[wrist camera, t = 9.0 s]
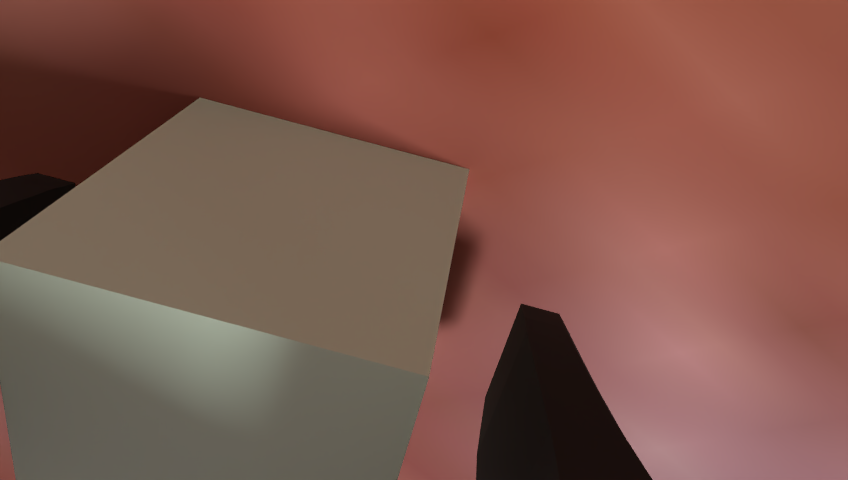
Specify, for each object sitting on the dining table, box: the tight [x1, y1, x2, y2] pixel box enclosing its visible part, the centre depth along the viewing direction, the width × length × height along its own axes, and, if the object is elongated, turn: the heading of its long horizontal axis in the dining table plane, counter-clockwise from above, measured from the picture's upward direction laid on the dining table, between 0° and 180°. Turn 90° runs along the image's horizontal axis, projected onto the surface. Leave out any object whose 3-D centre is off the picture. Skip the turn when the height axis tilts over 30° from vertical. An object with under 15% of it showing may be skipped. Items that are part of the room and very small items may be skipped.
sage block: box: [0, 98, 469, 480], centre depth 10 cm, size 4×4×5 cm
